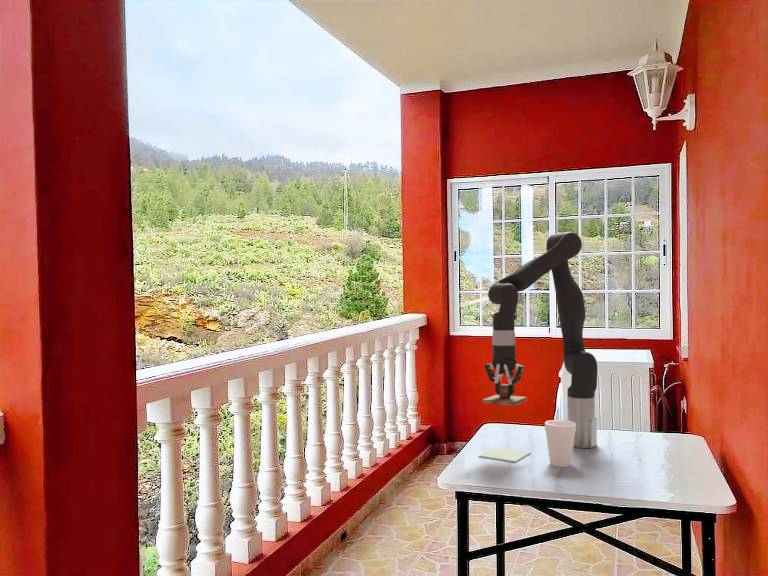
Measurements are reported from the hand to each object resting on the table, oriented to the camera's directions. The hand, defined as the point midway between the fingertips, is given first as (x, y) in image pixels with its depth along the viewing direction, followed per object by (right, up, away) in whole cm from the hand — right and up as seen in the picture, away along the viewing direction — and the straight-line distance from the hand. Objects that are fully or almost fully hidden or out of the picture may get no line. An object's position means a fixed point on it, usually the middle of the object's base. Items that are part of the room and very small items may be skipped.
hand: (504, 394), depth 220 cm
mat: (0, -20, 0) cm, 20 cm away
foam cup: (+16, -20, -10) cm, 28 cm away
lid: (0, -2, 0) cm, 2 cm away
